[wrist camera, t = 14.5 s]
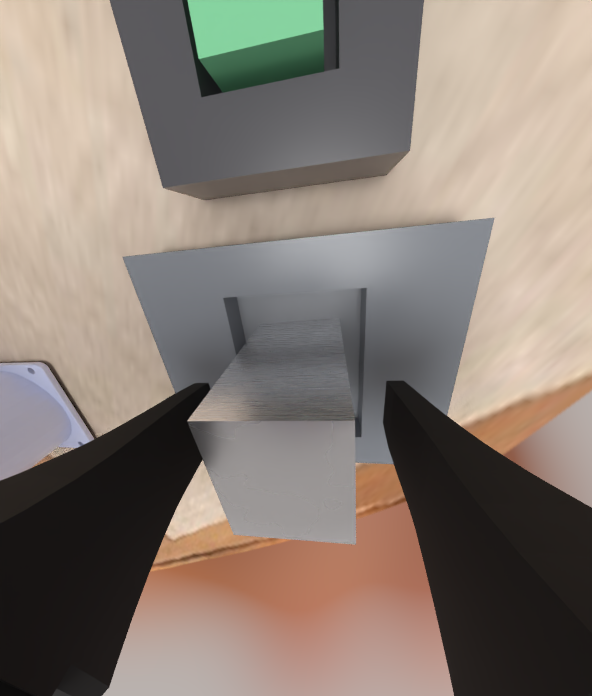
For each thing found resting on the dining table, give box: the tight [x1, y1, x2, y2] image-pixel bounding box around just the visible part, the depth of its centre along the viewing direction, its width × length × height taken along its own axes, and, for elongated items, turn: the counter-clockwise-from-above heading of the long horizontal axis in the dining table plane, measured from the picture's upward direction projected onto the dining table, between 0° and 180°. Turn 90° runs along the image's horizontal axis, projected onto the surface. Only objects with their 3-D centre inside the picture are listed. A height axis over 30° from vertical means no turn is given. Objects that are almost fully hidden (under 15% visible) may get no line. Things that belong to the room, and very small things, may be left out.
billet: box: [187, 318, 356, 544], centre depth 9 cm, size 4×5×7 cm
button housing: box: [110, 0, 424, 200], centre depth 7 cm, size 8×8×3 cm
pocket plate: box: [123, 218, 494, 464], centre depth 12 cm, size 14×12×2 cm
